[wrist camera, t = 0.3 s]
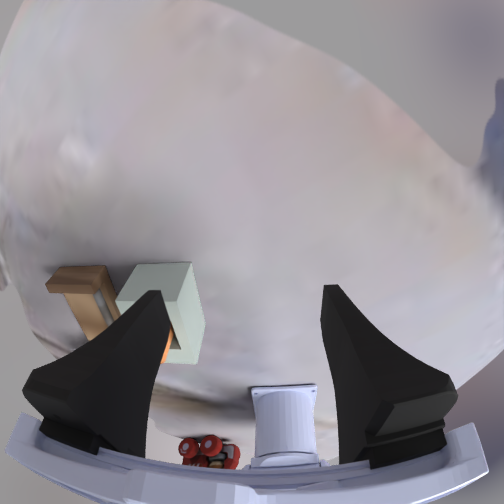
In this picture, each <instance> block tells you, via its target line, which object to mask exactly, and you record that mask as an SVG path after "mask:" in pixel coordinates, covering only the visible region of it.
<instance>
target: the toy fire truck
mask: <svg viewBox="0 0 504 504" xmlns="http://www.w3.org/2000/svg"><path fill="white" fill-rule="evenodd" d="M178 450H179V453H180V455H181V456H183V463H182V465H188V466H196V467H205V468H217V469H233V470H235V469H236V467H237V465H238V463H239V458H240V450H239V448H238V447H237V446H236V445H234V444H228V445H222V441H221V440H220V439H219V438H218V437H216V436H214V435H209V436H207V437H205V438H204V439H203V440H202V441H201V444H200V447H199V444H198V442H197V441H196V440H194V439H192V438H186V439H184V440H183V441H181V443H180V445H179V449H178Z"/></svg>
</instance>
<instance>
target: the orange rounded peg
mask: <svg viewBox="0 0 504 504" xmlns="http://www.w3.org/2000/svg"><path fill="white" fill-rule="evenodd" d="M174 332H175V331H174V328H173V325H172V322H171V327H170V332H169V337H168V342H167V345H166V348H165V351H164V354H163V357H162V360H161V363H160V364H162V363H164V362H165V361H166V358H167V354H168V351H169V348H170V345H171V341H172V338H173V335H174Z"/></svg>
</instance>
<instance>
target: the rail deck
mask: <svg viewBox="0 0 504 504" xmlns="http://www.w3.org/2000/svg"><path fill="white" fill-rule="evenodd" d="M45 285H46V287H47V289H48V291H49V293H63V294H64V296H65V298H66V300H67V302H68V304H69V306H70V308H71V309H72V311H73V313H74V315H75V317H76V319H77V321H78V323H79V324H80V326H81V328H82V330H83V332H84V333H85V335H86V337H87V338H88V340H89V341H90V340H92V339H93V338H95V337H96V336H97V335H99V334H100V333H101V332H103V331H104V330H105V329H106V328H107V327H108V326H110V325H111V324H112V323H113V322H114V321H115V320H117V319H118V318H119V317H120V316H121V313H120V311H119V309H118V307H117V304H116V302H115V300H116V298H117V295H116V292H115V290H114V287H113V285H112V282H111V280H110V277H109V275H108V272H107V269H106V267H105V266H76V267H60V268H59V269H58V270H57V271H56V272H55V273H54V275H53V276H52V277H51V278H50V279H49V280H48V281H47V283H46V284H45Z"/></svg>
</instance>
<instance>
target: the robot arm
mask: <svg viewBox="0 0 504 504" xmlns="http://www.w3.org/2000/svg"><path fill="white" fill-rule="evenodd" d="M320 322H321V330H322V337H323V343H324V347H325V351H326V355H327V359H328V363H329V367H330V371H331V375H332V379H333V384H334V390H335V399H336V408H337V420H338V437H339V465H333V466H330V464H329V463H328V462H326V461H325V460H324V459H323V460H320V463H319V456H318V453H317V451H316V439H315V428H314V417H313V409H314V404H315V399H316V394H317V385H302V386H285V387H255V388H252V390H251V393H252V399H253V405H254V411H255V417H256V434H255V458H252V459H251V465H246V466H245V467H244V468H243V469H242V470H233V469H217V468H205V467H196V466H188V465H180V464H173V463H167V462H161V461H156V460H150V459H146V458H145V448H146V431H147V421H148V414H149V407H150V401H151V395H152V390H153V386H154V382H155V378H156V375H157V372H158V369H159V366H160V363H161V360H162V357H163V354H164V351H165V348H166V345H167V342H168V337H169V332H170V327H171V321H170V318H169V315H168V312H167V309H166V305H165V302H164V299H163V296H162V293H161V290H148V291H147V292H146V293H145V294H143V295H142V296H141V297H140V298H139V299H138V300H137V301H136V302H135V303H134V304H133V305H132V306H131V307H130V308H129V309H127V310H126V311H125V312H124V313H123V314H122V315H121V316H120V317H119V318H118V319H117V320H115V321H114V322H113V323H112V324H111V325H110V326H108V327H107V328H106V329H105V330H104V331H103V332H101V333H100V334H99V335H97V336H96V337H95V338H93V339H92V340H90V341H89V342H88V343H86V344H85V345H83V346H81V347H80V348H78V349H76V350H75V351H73V352H72V353H70V354H68V355H66V356H64V357H62V358H60V359H58V360H56V361H54V362H52V363H50V364H47V365H44V366H42V367H39V368H37V369H34V370H33V371H32V372H31V374H30V376H29V378H28V380H27V382H26V384H25V385H24V387H23V389H22V391H23V394H24V396H25V398H26V399H27V400H28V401H29V403H31V405H32V406H33V407H34V408H35V409H36V410H37V411H38V412H39V413H40V414H41V415H43V417H44V419H43V421H42V422H41V421H40V420H38V419H37V418H35V417H32V416H30V415H28V414H26V413H23V412H21V414H20V416H19V418H18V421H17V423H16V425H15V427H14V430H13V432H12V434H11V436H10V439H9V441H8V443H7V446H6V449H5V453H7V454H8V455H9V456H11V457H12V458H13V459H15V460H16V461H18V462H19V463H21V464H22V465H24V466H25V467H27V468H28V469H30V470H31V471H33V472H35V473H36V474H38V475H40V476H42V477H43V478H45V479H47V480H49V481H51V482H53V483H55V484H57V485H59V486H61V487H63V488H65V489H68V490H70V491H72V492H74V493H76V494H78V495H81V496H83V497H85V498H88V499H90V500H93V501H95V502H98V503H100V504H427V503H429V502H431V501H434V500H437V499H439V498H442V497H444V496H446V495H449V494H451V493H453V492H455V491H458V490H459V489H461V488H463V487H465V486H467V485H468V484H470V483H472V482H474V481H476V480H477V479H479V478H481V477H482V476H484V475H485V474H487V473H488V472H489V469H488V466H487V462H486V459H485V455H484V452H483V449H482V446H481V443H480V440H479V437H478V434H477V431H476V428H475V426H474V423H469V424H467V425H464V426H462V427H459V428H456V429H454V430H451V431H450V432H448V433H446V434H445V435H444V432H443V429H442V428H444V427H445V422H444V419H443V417H444V416H445V415H446V414H447V413H448V412H449V411H450V409H451V408H452V407H453V406H454V404H455V403H456V401H457V398H458V394H457V392H456V389H455V386H454V384H453V382H452V380H451V378H450V376H449V375H448V374H446V373H444V372H442V371H439V370H437V369H435V368H433V367H431V366H429V365H427V364H425V363H423V362H422V361H420V360H418V359H416V358H415V357H413V356H412V355H410V354H408V353H407V352H406V351H404V350H403V349H401V348H400V347H398V346H397V345H396V344H394V343H393V342H392V341H391V340H389V339H388V338H387V337H386V336H385V335H383V334H382V333H381V332H380V331H379V330H378V329H377V328H376V327H375V326H374V325H373V324H372V323H371V322H370V321H369V320H368V319H367V318H366V317H365V316H364V315H363V314H362V313H361V311H360V310H359V309H358V308H357V307H356V306H355V305H354V304H353V302H352V301H351V300H350V299H349V297H348V296H347V295H346V294H345V293H344V291H343V290H342V289H341V288H340V286H339V285H338V284H336V285H324V289H323V299H322V309H321V318H320Z"/></svg>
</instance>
